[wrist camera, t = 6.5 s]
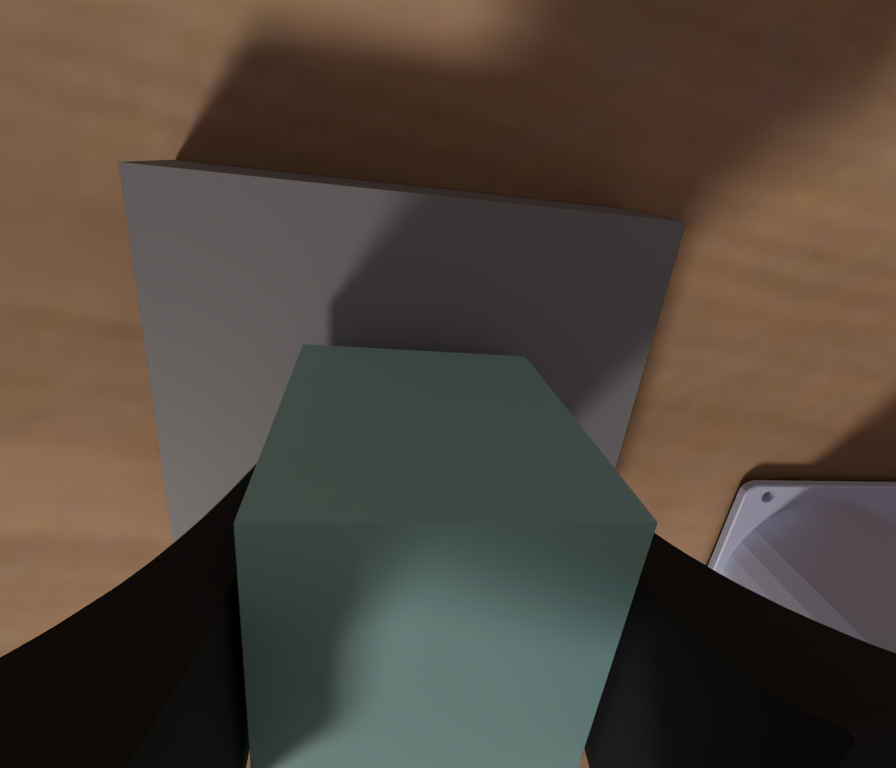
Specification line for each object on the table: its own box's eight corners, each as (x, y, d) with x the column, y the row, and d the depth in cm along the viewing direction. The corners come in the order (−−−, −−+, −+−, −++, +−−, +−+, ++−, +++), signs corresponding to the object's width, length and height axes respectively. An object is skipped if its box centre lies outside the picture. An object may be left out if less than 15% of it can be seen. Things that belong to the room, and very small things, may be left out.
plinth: (626, 208, 14) (686, 221, 12) (548, 539, 19) (577, 603, 16) (173, 159, 12) (118, 161, 10) (212, 543, 17) (183, 615, 14)
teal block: (524, 356, 12) (657, 522, 6) (494, 530, 14) (576, 772, 8) (303, 343, 11) (233, 522, 5) (303, 530, 13) (252, 800, 7)
